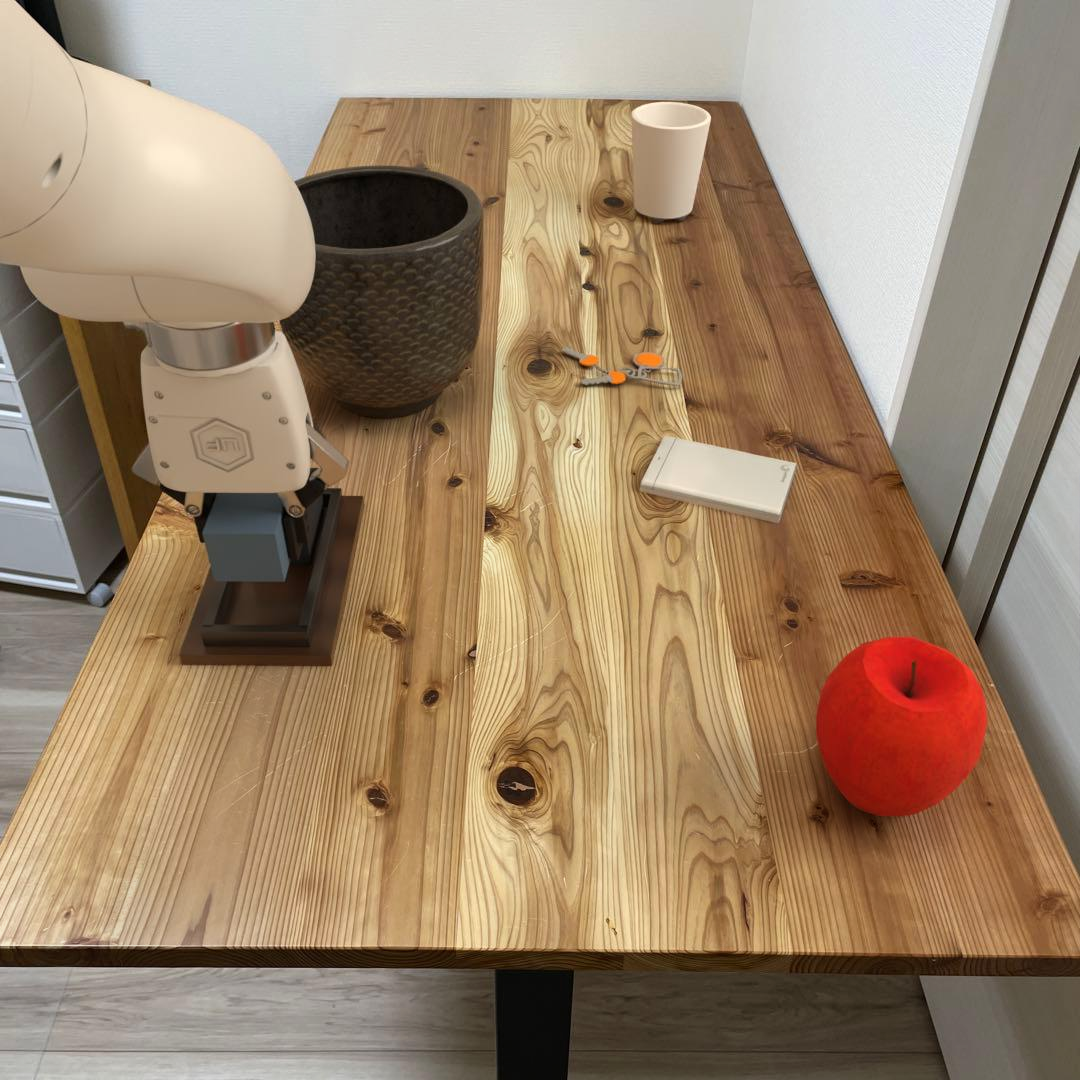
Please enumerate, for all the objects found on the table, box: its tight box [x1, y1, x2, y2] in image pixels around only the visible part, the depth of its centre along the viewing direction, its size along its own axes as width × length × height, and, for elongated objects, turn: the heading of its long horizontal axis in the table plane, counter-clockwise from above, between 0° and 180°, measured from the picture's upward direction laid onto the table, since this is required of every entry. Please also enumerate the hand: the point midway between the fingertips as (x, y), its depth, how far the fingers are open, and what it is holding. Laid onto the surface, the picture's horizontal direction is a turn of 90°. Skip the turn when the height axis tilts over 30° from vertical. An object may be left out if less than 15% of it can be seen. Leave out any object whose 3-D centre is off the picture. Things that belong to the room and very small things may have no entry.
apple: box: [815, 636, 989, 818], centre depth 66 cm, size 10×10×12 cm
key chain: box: [560, 346, 683, 387], centre depth 109 cm, size 13×7×1 cm, turn 83°
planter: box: [278, 164, 485, 419], centre depth 101 cm, size 20×20×19 cm
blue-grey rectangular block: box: [202, 493, 290, 582], centre depth 77 cm, size 7×5×4 cm
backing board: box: [178, 487, 366, 666], centre depth 84 cm, size 19×11×2 cm, turn 0°
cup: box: [630, 101, 712, 224], centre depth 136 cm, size 10×10×13 cm
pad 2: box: [289, 467, 325, 565], centre depth 86 cm, size 7×5×4 cm
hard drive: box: [639, 435, 798, 524], centre depth 96 cm, size 2×8×12 cm
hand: (258, 545), depth 78 cm, fingers closed on blue-grey rectangular block, 5 cm apart
